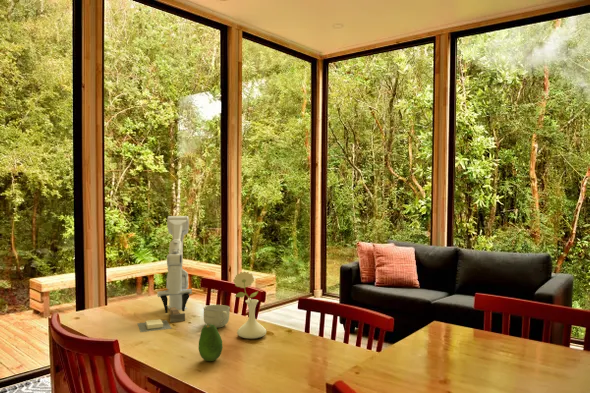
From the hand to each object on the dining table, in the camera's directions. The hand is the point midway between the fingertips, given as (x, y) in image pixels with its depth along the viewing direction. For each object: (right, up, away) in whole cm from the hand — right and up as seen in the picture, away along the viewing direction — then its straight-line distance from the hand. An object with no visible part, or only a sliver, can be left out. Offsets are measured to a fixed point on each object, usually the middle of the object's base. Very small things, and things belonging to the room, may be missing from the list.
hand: (174, 311), depth 201 cm
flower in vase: (+35, -4, -25) cm, 43 cm away
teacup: (+21, -3, -12) cm, 25 cm away
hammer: (0, -3, -1) cm, 3 cm away
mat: (-5, -3, -13) cm, 14 cm away
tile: (-6, -2, -11) cm, 12 cm away
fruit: (+25, -4, -50) cm, 56 cm away
